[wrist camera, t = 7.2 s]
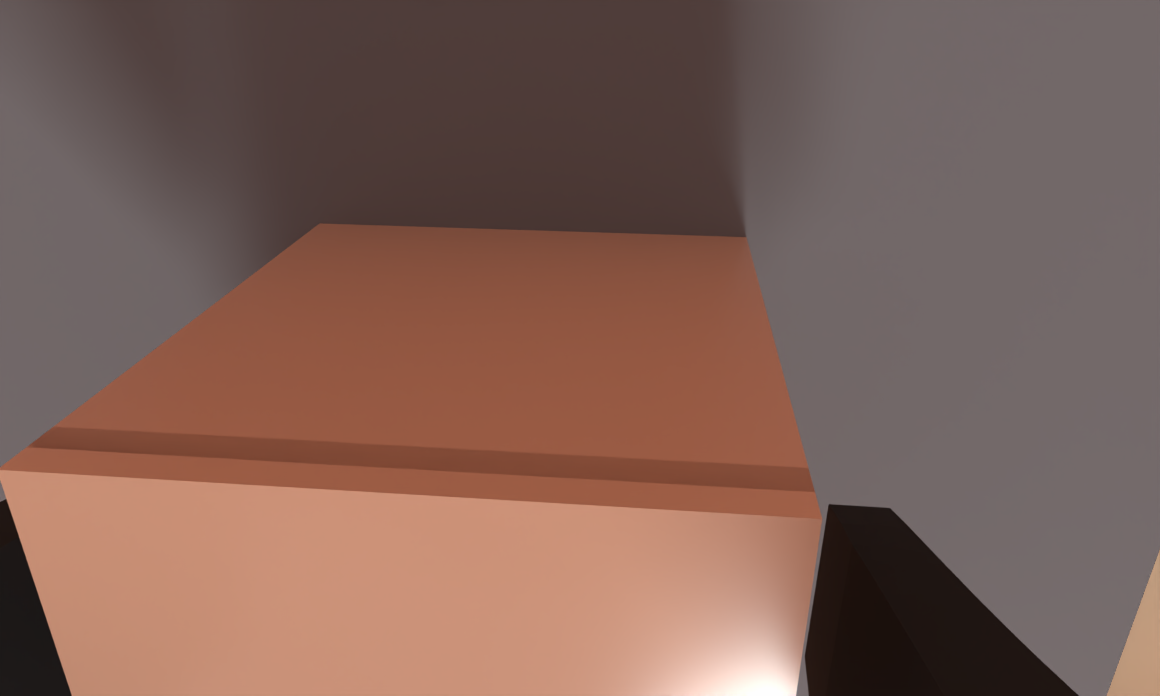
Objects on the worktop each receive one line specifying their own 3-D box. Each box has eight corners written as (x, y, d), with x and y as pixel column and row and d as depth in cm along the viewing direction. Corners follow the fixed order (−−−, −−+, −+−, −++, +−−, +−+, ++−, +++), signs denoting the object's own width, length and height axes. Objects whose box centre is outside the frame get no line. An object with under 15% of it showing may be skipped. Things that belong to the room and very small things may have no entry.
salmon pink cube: (362, 562, 14) (161, 961, 8) (319, 222, 11) (-3, 470, 6) (715, 586, 13) (747, 1026, 8) (745, 237, 11) (822, 519, 5)
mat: (72, 668, 16) (52, 692, 16) (-175, -106, 11) (-220, -109, 10) (1060, 751, 15) (1075, 783, 14) (1354, -98, 9) (1396, -102, 9)
